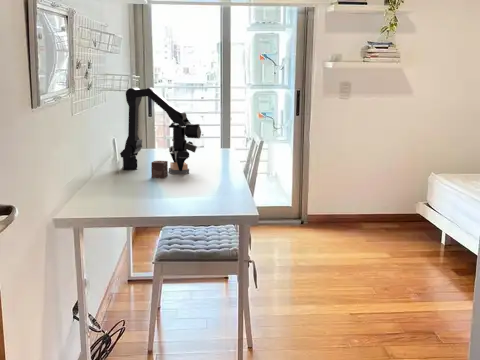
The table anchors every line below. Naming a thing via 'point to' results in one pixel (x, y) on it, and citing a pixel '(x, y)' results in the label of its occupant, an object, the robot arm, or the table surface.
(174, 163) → the tile
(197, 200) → the table surface
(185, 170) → the block
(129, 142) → the robot arm
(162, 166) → the box
